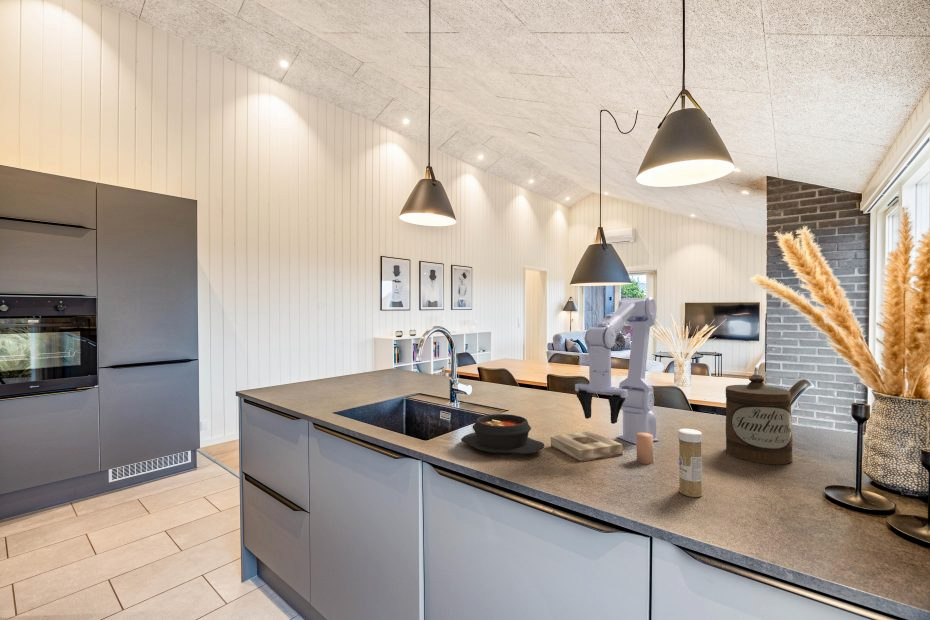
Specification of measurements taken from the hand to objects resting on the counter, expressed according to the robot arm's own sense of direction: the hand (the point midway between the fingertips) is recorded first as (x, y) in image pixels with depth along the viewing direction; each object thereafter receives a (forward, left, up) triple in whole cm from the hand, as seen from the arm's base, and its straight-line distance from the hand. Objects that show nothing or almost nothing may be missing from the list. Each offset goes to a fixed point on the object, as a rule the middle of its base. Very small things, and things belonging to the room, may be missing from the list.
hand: (600, 420), depth 114 cm
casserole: (+22, -16, -10) cm, 29 cm away
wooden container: (-40, +16, -10) cm, 44 cm away
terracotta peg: (-8, +8, -10) cm, 15 cm away
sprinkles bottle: (-2, +27, -10) cm, 29 cm away
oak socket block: (+1, -5, -10) cm, 11 cm away
